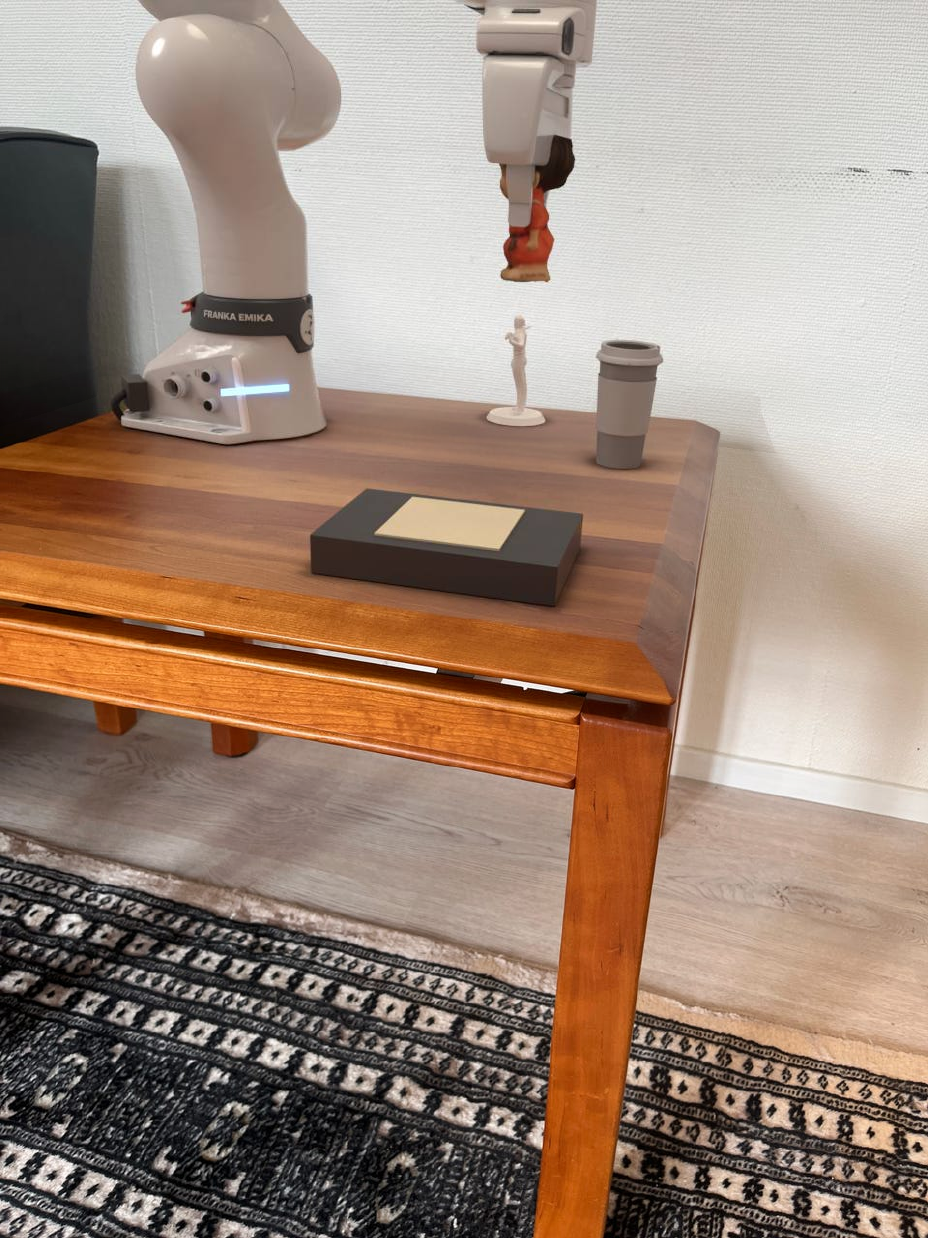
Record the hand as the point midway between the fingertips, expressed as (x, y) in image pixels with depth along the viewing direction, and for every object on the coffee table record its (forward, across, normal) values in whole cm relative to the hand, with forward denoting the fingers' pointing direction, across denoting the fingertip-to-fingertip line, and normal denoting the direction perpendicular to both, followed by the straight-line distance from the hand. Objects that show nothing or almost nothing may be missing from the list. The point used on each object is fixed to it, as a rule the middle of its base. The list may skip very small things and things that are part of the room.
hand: (527, 224), depth 85 cm
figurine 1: (+5, 0, 0) cm, 5 cm away
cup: (+23, -11, +9) cm, 27 cm away
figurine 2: (+23, -26, -5) cm, 35 cm away
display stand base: (+23, +22, 0) cm, 32 cm away
